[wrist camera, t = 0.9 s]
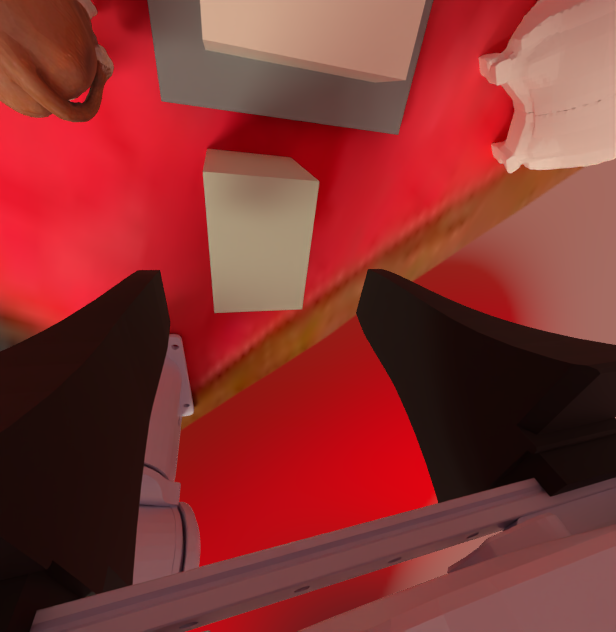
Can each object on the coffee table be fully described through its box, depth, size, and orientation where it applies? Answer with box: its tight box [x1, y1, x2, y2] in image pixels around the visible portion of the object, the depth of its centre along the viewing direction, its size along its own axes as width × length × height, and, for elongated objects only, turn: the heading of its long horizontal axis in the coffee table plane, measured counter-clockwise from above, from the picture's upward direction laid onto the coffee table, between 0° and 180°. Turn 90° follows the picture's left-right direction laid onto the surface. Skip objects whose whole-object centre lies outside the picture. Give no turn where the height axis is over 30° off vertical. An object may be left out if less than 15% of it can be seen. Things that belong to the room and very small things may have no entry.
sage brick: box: [203, 149, 319, 313], centre depth 15 cm, size 6×4×6 cm
